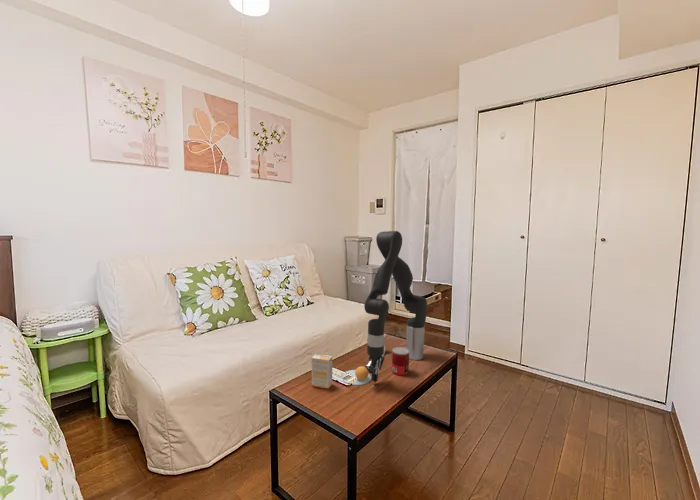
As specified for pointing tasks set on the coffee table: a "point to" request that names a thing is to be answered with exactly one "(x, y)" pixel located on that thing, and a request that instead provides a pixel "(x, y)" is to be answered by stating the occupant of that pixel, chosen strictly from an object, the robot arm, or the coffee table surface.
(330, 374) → the supplement box
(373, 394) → the coffee table surface
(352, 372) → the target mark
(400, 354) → the canned food
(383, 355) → the seated beast figurine
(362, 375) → the ball
